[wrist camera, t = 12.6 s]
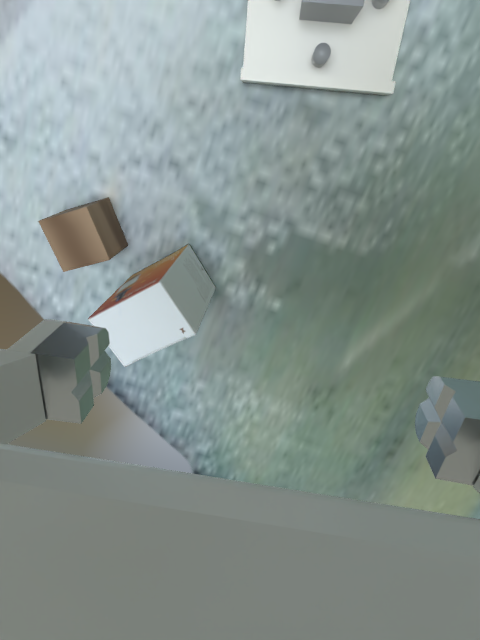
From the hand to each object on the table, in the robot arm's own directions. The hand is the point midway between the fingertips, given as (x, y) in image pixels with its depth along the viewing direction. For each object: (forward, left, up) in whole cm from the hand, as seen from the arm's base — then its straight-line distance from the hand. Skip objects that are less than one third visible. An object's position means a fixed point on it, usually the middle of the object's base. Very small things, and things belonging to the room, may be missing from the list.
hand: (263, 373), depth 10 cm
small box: (+10, +10, -30) cm, 34 cm away
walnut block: (+18, +6, -30) cm, 36 cm away
